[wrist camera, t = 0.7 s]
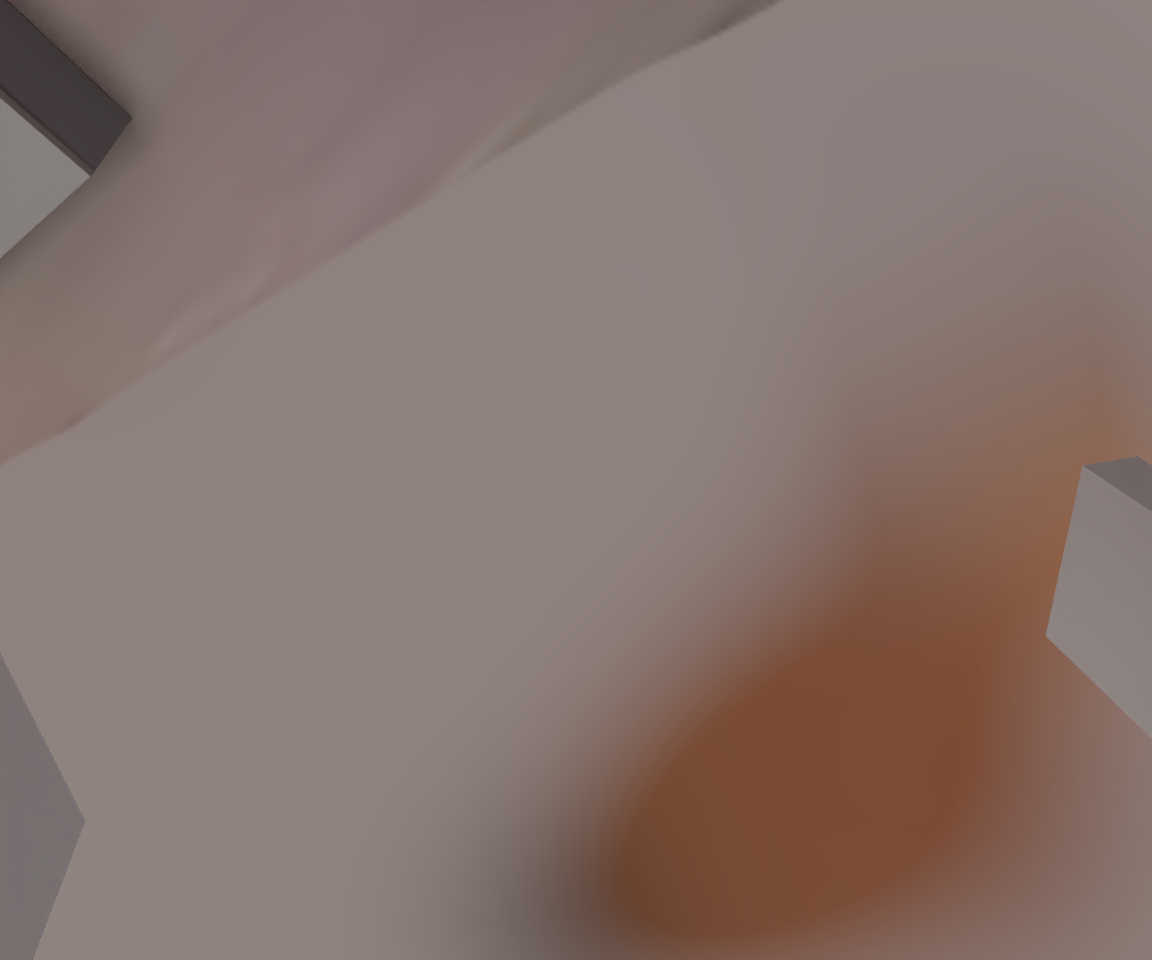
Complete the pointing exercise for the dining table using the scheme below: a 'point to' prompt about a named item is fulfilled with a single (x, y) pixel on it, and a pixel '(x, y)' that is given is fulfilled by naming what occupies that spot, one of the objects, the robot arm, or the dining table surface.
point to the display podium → (45, 126)
